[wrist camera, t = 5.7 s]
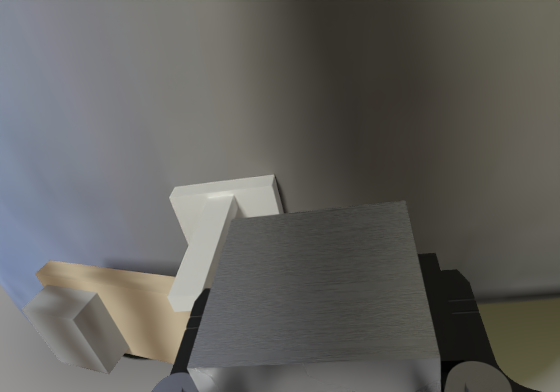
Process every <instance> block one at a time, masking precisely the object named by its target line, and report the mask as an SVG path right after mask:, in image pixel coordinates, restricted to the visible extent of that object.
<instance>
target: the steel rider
mask: <svg viewBox="0 0 560 392" xmlns="http://www.w3.org/2000/svg"><path fill="white" fill-rule="evenodd" d="M187 370H188V372H189V374H190V376H191V377H192V379H193V381H194V383H195V385H196V387H197V389H198V391H199V392H441V364H440V354H439V350H438V345H437V341H436V336H435V332H434V327H433V323H432V318H431V314H430V309H429V305H428V300H427V296H426V291H425V287H424V282H423V278H422V273H421V269H420V264H419V260H418V255H417V251H416V246H415V242H414V237H413V233H412V228H411V224H410V219H409V215H408V210H407V206H406V201H396V202H386V203H377V204H368V205H359V206H349V207H340V208H331V209H322V210H312V211H303V212H294V213H285V214H276V215H266V216H257V217H248V218H239V219H232V220H231V223H230V226H229V230H228V233H227V236H226V240H225V243H224V246H223V250H222V253H221V256H220V260H219V263H218V266H217V270H216V273H215V276H214V280H213V283H212V286H211V290H210V293H209V296H208V300H207V303H206V306H205V309H204V313H203V316H202V319H201V323H200V326H199V329H198V333H197V336H196V339H195V343H194V346H193V349H192V353H191V356H190V359H189V363H188V366H187Z"/></svg>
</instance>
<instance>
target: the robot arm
mask: <svg viewBox="0 0 560 392" xmlns="http://www.w3.org/2000/svg"><path fill="white" fill-rule="evenodd" d="M417 255H418V260H419V264H420V269H421V273H422V278H423V282H424V287H425V291H426V296H427V300H428V305H429V309H430V314H431V318H432V323H433V327H434V332H435V336H436V341H437V345H438V350H439V354H440V364H441V392H540V391H536V390H532V389H529V388H526V387H524V386H522V385H519V384H518V383H516V382H514V381H513V380H511V379H510V378H509V377H508V376H506V375H505V374H504V373H503V371H502V370H501V369H500V368H499V366H498V365H497V363H496V360H495V358H494V355H493V352H492V349H491V346H490V343H489V340H488V337H487V334H486V331H485V328H484V325H483V322H482V319H481V316H480V313H479V310H478V307H477V304H476V301H475V299H474V295H473V292H472V289H471V286H470V283H469V282H468V280H467V279H466V278H465V277H464V276H463V275H462V274H461V273H460V272H459V271H458V270H444V271H440V267H439V263H438V260H437V256H436V254H435V253H428V254H417ZM210 290H211V288H205V289H204V290H203V291H202V293H201V294H200V295H199V296H198V298H197V299H196V300H195V301H194V305H193V308H192V311H191V314H190V318H189V320H188V323H187V326H186V330H185V332H184V335H183V338H182V341H181V344H180V347H179V350H178V353H177V356H176V359H175V362H174V365H173V368H172V371H171V374H170V375H169V376H167V377H165V378H164V379H162V380H161V381H160V382H159V383H158V384H157V385H156V386H155V387H154V389H153V390H152V392H199V391H198V389H197V387H196V385H195V383H194V381H193V379H192V377H191V376H190V374H189V372H188V370H187V366H188V363H189V359H190V356H191V353H192V349H193V346H194V343H195V339H196V336H197V333H198V329H199V326H200V323H201V319H202V316H203V313H204V309H205V306H206V303H207V300H208V296H209V293H210Z"/></svg>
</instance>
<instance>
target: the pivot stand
mask: <svg viewBox="0 0 560 392" xmlns="http://www.w3.org/2000/svg"><path fill="white" fill-rule="evenodd" d="M169 198H170V201H171V203H172V206H173V208H174V211H175V213H176V216H177V218H178V221H179V223H180V225H181V228H182V230H183V233H184V235H185V238H186V240H187V243H188V245H189V246H188V248H187V251H186V253H185V255H184V258H183V260H182V263H181V265H180V268H179V270H178V273H177V275H176V277H175V280H174V282H173V285H172V287H171V290H170V292H169V295H168V297H167V298H168V300H169V302H170V304H171V306H172V308H173V310H174V312H181V311H192V308H193V305H194V301H195V300H196V299H197V298H198V296H199V295H200V294H201V293H202V291H203V290H204V289H205V288H211V286H212V283H213V280H214V276H215V273H216V270H217V266H218V263H219V260H220V256H221V253H222V250H223V246H224V243H225V240H226V236H227V233H228V230H229V226H230V223H231V220H232V219H239V218H248V217H257V216H266V215H276V214H284V212H283V208H282V204H281V200H280V196H279V191H278V187H277V183H276V179H275V175H266V176H258V177H250V178H242V179H234V180H226V181H218V182H210V183H202V184H195V185H187V186H179V187H175V188H174V190H173V192H172V193H171V195H170V197H169Z"/></svg>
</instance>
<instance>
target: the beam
mask: <svg viewBox="0 0 560 392" xmlns="http://www.w3.org/2000/svg"><path fill="white" fill-rule="evenodd" d="M35 275H36V276H37V278H38V279H39V281H40V282H41V283H42V285H43V286H44V288H43V289H42V290H41V291H40V292H39V293H38V294H37V295H36V296H35V297H34V298H33V299H32V300H31V301H30V302H29V303H28V304H27V305H26V306H25V307H24V308H23V309H22V311H23V312H24V314H25V315H26V316H27V318H28V319H29V320H30V322H31V323H32V324H33V326H34V327H35V328H36V330H37V331H38V332H39V334H40V335H41V337H42V338H43V339H44V340H45V342H46V343H47V345H48V346H49V347H50V349H51V350H52V351H53V353H54V354H55V355H56V357H57V358H58V359H59V361H60V362H63V363H67V364H71V365H75V366H79V367H82V368H86V369H90V370H94V371H98V372H102V373H106V374H109V373H110V372H111V371H112V369H113V368H114V367H115V365H116V364H117V363H118V361H119V360H120V358H121V357H122V356H123V354H124V353H128V354H133V355H137V356H142V357H146V358H150V359H155V360H159V361H164V362H168V363H173V364H174V362H175V359H176V356H177V353H178V350H179V347H180V344H181V341H182V338H183V335H184V332H185V330H186V326H187V323H188V320H189V318H190V314H191V311H181V312H174V310H173V308H172V306H171V304H170V302H169V300H168V298H167V297H168V295H169V292H170V290H171V287H172V285H173V282H174V280H175V277H172V276H164V275H157V274H149V273H141V272H134V271H126V270H119V269H111V268H103V267H96V266H88V265H81V264H73V263H65V262H58V261H49V262H47V263H46V264H45V265H44V266H43V267H42V268H41V269H40V270H39V271H38V272H37V273H36V274H35Z"/></svg>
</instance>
